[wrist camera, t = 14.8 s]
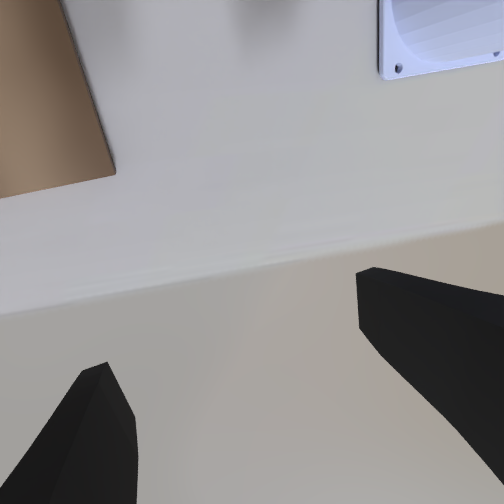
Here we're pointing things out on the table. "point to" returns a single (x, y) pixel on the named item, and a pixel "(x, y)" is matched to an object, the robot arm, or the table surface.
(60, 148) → the light brown board
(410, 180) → the table surface
